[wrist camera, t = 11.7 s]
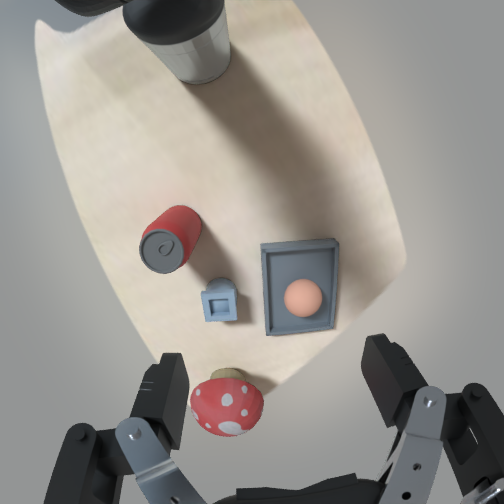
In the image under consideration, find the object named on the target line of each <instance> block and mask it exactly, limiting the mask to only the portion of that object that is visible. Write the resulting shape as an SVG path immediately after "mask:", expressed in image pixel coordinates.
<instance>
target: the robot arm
mask: <svg viewBox="0 0 504 504" xmlns="http://www.w3.org/2000/svg"><path fill="white" fill-rule="evenodd" d="M55 1H56V2H58V3H59V4H60V5H62V6H63V7H65V8H66V9H68V10H69V11H71V12H73V13H76V14H78V15H81V16H87V17H91V16H96V15H99V14H103V13H105V12H108V11H111V10H113V9H116V8H118V7H120V6H122V5H123V17H124V21H125V23H126V25H127V27H128V28H129V29H130V30H131V31H132V32H133V33H134V34H135V35H136V36H137V37H138V38H139V39H140V40H141V41H142V42H143V43H144V44H145V45H146V46H147V47H148V48H149V49H150V50H151V51H152V52H153V53H154V54H155V55H156V56H157V57H158V58H159V59H160V60H161V61H162V62H163V63H164V64H165V65H166V66H167V67H168V68H169V70H170V71H171V72H172V73H173V74H174V75H175V76H176V77H177V78H178V79H180V80H182V81H183V82H186V83H190V84H203V83H208V82H210V81H213V80H215V79H216V78H218V77H219V76H220V75H222V74H223V73H224V72H225V70H226V69H227V67H228V65H229V63H230V58H231V52H230V42H229V34H228V25H227V17H226V10H225V2H224V0H55ZM361 369H362V373H363V376H364V378H365V380H366V382H367V384H368V387H369V388H370V391H371V393H372V395H373V397H374V400H375V402H376V404H377V406H378V408H379V411H380V413H381V415H382V417H383V420H384V422H385V424H386V426H387V428H388V427H391V426H394V425H396V427H397V429H398V430H397V432H396V434H395V437H394V440H393V442H392V445H391V448H390V450H389V453H388V455H387V458H386V460H385V462H384V465H383V467H382V469H381V471H380V473H379V474H378V476H377V478H376V480H375V481H374V480H369V479H357V477H356V474H355V473H352V474H349V475H344V476H339V477H335V478H330V479H327V480H324V481H321V482H319V483H317V484H314V485H312V486H309V487H306V488H304V489H301V490H287V489H277V488H269V487H262V488H242V489H241V488H238V489H236V495H233V496H229V497H226V498H224V499H221V500H219V501H217V502H215V503H213V504H426V502H427V500H428V497H429V494H430V491H431V488H432V485H433V481H434V478H435V475H436V471H437V468H438V464H439V460H440V456H441V452H442V447H444V450H445V452H446V454H447V457H448V459H449V462H450V464H451V466H452V469H453V471H454V474H455V476H456V479H457V482H458V484H459V487H460V489H461V492H462V495H463V499H462V501H461V503H460V504H504V415H503V413H502V412H501V410H500V409H499V407H498V406H497V404H496V402H495V401H494V399H493V398H492V396H491V395H490V393H489V392H488V391H487V389H486V388H485V387H484V386H483V385H481V384H478V383H470V384H468V385H466V386H465V387H464V389H463V391H462V393H453V394H444V392H443V391H442V390H441V389H439V388H437V387H434V386H429V385H428V384H427V382H426V381H425V379H424V378H423V376H422V375H421V373H420V372H419V370H418V369H417V367H416V366H415V364H413V361H412V360H411V358H410V357H409V355H408V354H407V352H406V351H405V350H404V348H403V347H401V346H399V345H398V344H397V343H395V342H393V343H390V341H389V340H388V338H387V337H386V335H385V334H383V333H382V334H377V335H371V336H368V337H367V338H366V342H365V347H364V352H363V356H362V361H361ZM188 394H189V378H188V374H187V371H186V368H185V364H184V361H183V357H182V354H181V353H163V354H162V357H161V360H160V363H159V364H152V365H151V367H150V368H149V369H148V370H147V371H146V372H145V374H144V377H143V380H142V383H141V385H140V390H139V391H138V394H137V397H136V400H135V403H134V405H133V408H132V411H131V414H130V417H129V418H127V419H125V420H123V421H121V422H120V423H119V425H118V426H117V428H115V429H108V430H100V431H96V430H95V429H94V428H93V427H92V426H91V425H89V424H86V423H78V424H75V425H74V426H72V427H71V428H70V429H69V430H68V431H67V434H66V436H65V439H64V442H63V444H62V447H61V450H60V452H59V456H58V458H57V461H56V464H55V467H54V470H53V473H52V476H51V480H50V483H49V486H48V490H47V493H46V497H45V500H44V504H119V499H120V494H121V488H122V482H123V477H124V475H131V474H135V475H136V482H137V484H138V485H139V487H140V489H141V491H142V492H143V494H144V495H145V497H146V499H147V500H148V502H149V503H150V504H207V503H206V502H205V501H204V500H203V499H202V497H201V496H200V495H199V494H198V493H197V491H196V490H195V489H194V488H193V486H192V485H191V484H190V483H189V481H188V480H187V479H186V478H185V476H184V475H183V474H182V472H181V471H180V470H179V468H178V467H177V466H176V464H175V463H174V462H173V461H172V459H171V458H170V452H171V449H173V450H179V448H180V442H181V435H182V429H183V423H184V417H185V411H186V405H187V400H188ZM469 428H471V430H472V432H473V434H474V436H475V437H476V439H477V442H478V444H477V442H476V440H475V438H474V437H473V434H472V433H471V431H470V429H469Z"/></svg>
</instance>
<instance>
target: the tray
mask: <svg viewBox="0 0 504 504" xmlns="http://www.w3.org/2000/svg"><path fill="white" fill-rule="evenodd" d="M260 245H261V261H262V278H263V295H264V313H265V329H266V336H271V335H282V334H292V333H301V332H310V331H318V330H326V329H333V325H334V315H335V304H336V291H337V276H338V257H339V243H338V242H337V241H336V240H335V239H334V238H332V239H318V240H304V241H290V242H276V243H263V244H260ZM299 279H308V280H311V281H313V282H314V283H316V284H317V285H318V287H319V288H320V290H321V293H322V302H321V305H320V307H319V309H318V310H317V311H316V312H315V313H314V314H312V315H310V316H307V317H298V316H295V315H293V314H292V313H291V312H289V310H288V309H287V308H286V305H285V302H284V294H285V291H286V289H287V287H288V286H289V285H290V284H291V283H292V282H294V281H296V280H299Z"/></svg>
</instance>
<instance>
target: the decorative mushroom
mask: <svg viewBox="0 0 504 504" xmlns="http://www.w3.org/2000/svg"><path fill="white" fill-rule="evenodd" d="M190 402H191V409H192V413H193V416H194V417H195V419H196V420H197V422H198V423H199V424H200V426H202V427H203V428H204V429H205V430H207V431H208V432H210V433H213V434H215V435H219V436H226V437H228V436H229V437H231V436H237V435H241V434H243V433H245V432H247V431H248V430H250V429H251V428H253V427H254V426H255V424H256V423H257V422H258V420H259V419H260V417H261V415H262V411H263V405H264V400H263V397H262V394H261V392H260V391H259V390H258V389H257V388H256V387H255V386H253V385H251V384H249V383H247V382H245V378H244V376H243V375H242V374H241V373H240V372H238V371H236V370H234V369H231V368H224V369H219V370H216V371H215V372H213V373H212V375H211V379H210V380H208V381H205V382H203V383H200V384H199V385H198V386H197V387H196V388H195V389H194V390H193V392H192V394H191V398H190Z"/></svg>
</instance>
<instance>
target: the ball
mask: <svg viewBox="0 0 504 504" xmlns="http://www.w3.org/2000/svg"><path fill="white" fill-rule="evenodd" d="M284 302H285V305H286V308H287V309H288V310H289V312H291V313H292V314H293V315H295V316H298V317H307V316H310V315H312V314H314V313H315V312H316V311H317V310H318V309H319V307H320V305H321V302H322V293H321V290H320V288H319V287H318V285H317V284H316V283H314V282H313V281H311V280H308V279H299V280H296V281H294V282H292V283H291V284H290V285H289V286H288V287H287V289H286V291H285V294H284Z"/></svg>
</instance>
